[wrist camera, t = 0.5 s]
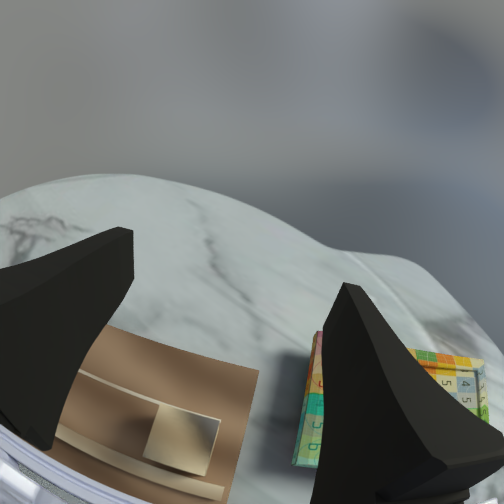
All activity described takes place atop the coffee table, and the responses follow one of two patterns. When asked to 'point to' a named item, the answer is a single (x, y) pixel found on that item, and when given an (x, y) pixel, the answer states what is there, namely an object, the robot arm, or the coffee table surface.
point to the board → (150, 417)
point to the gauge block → (182, 440)
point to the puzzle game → (437, 365)
